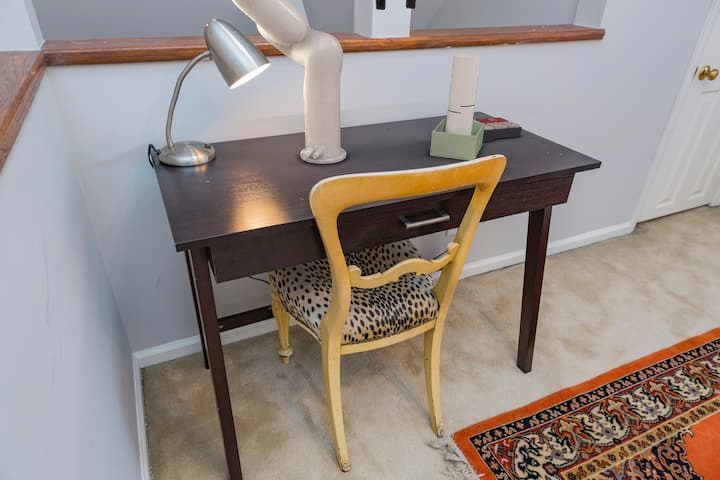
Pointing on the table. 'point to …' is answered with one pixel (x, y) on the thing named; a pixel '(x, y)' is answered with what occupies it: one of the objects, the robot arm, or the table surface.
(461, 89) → the cylindrical container
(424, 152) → the table surface
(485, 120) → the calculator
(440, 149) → the tote
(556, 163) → the table surface
